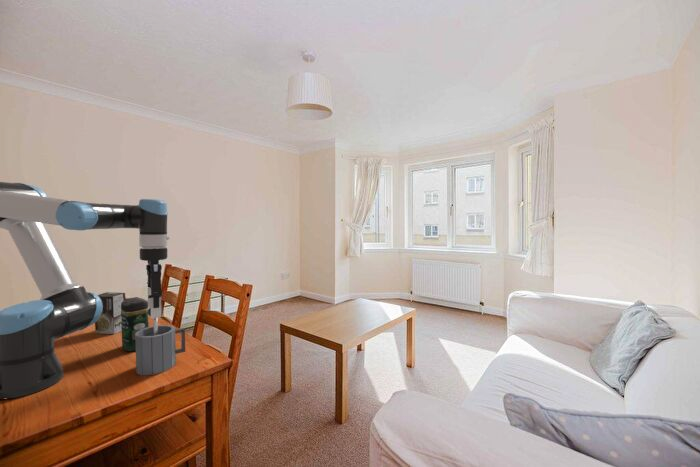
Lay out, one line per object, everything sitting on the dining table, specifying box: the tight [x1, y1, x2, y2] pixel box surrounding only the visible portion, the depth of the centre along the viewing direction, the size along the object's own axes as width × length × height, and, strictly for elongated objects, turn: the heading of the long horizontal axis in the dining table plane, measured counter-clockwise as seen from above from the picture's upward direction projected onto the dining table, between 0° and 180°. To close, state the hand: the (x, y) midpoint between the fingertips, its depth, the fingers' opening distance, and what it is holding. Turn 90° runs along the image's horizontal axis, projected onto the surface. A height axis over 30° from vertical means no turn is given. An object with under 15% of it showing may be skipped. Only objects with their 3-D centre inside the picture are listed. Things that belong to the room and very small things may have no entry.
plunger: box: [148, 306, 163, 336], centre depth 98 cm, size 8×8×17 cm
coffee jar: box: [121, 296, 150, 352], centre depth 112 cm, size 10×8×19 cm
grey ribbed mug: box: [135, 324, 186, 376], centre depth 99 cm, size 14×11×12 cm
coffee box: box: [94, 291, 126, 335], centre depth 128 cm, size 9×6×16 cm
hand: (154, 311), depth 97 cm, fingers open, 13 cm apart
